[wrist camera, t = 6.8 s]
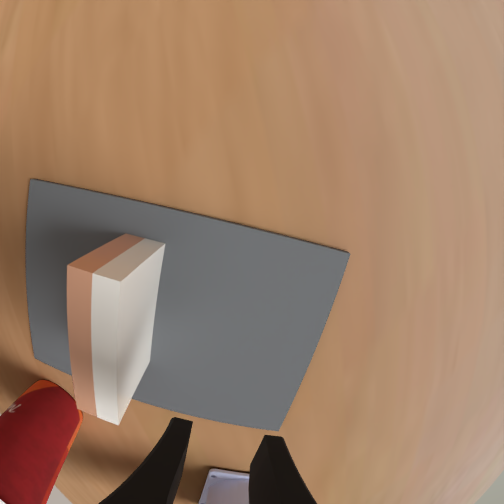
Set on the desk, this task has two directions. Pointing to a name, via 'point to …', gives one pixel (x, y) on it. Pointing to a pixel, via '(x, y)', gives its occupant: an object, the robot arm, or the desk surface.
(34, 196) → the mat
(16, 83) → the desk surface
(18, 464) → the paper cup
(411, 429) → the desk surface
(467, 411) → the desk surface
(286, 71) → the desk surface
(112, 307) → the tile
